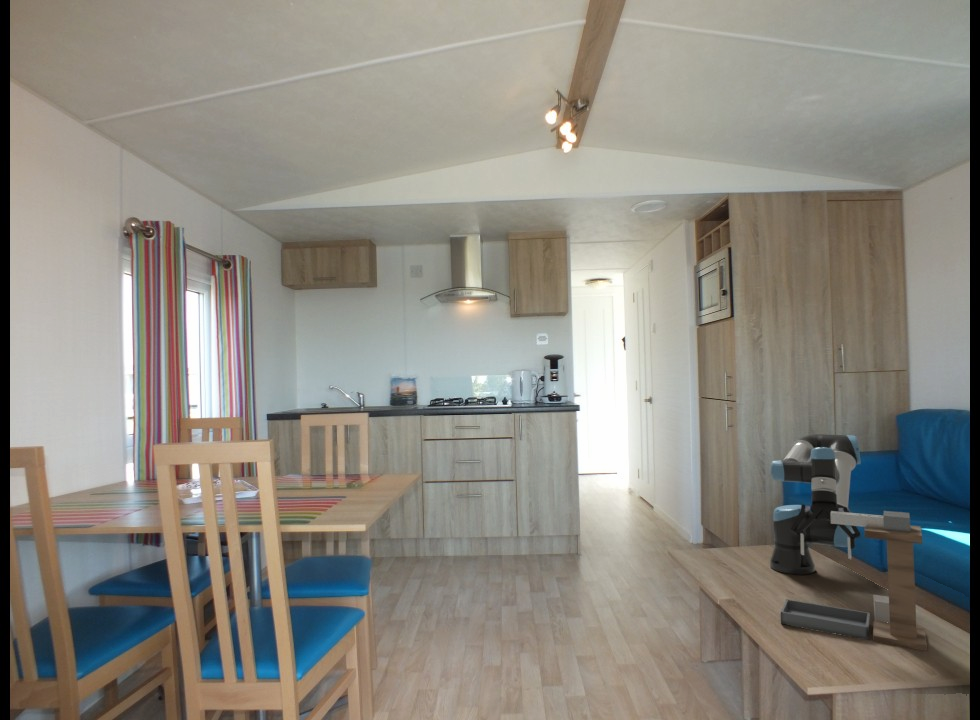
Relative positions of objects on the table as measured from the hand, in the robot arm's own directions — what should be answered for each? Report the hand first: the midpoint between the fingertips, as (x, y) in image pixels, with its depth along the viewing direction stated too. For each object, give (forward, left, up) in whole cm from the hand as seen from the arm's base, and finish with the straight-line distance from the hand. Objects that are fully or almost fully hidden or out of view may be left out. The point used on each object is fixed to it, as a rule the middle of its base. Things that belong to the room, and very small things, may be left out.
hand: (825, 556), depth 200 cm
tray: (+23, +1, -14) cm, 27 cm away
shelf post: (+23, +19, -14) cm, 33 cm away
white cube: (+10, +16, -14) cm, 24 cm away
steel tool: (+23, +13, +16) cm, 31 cm away
